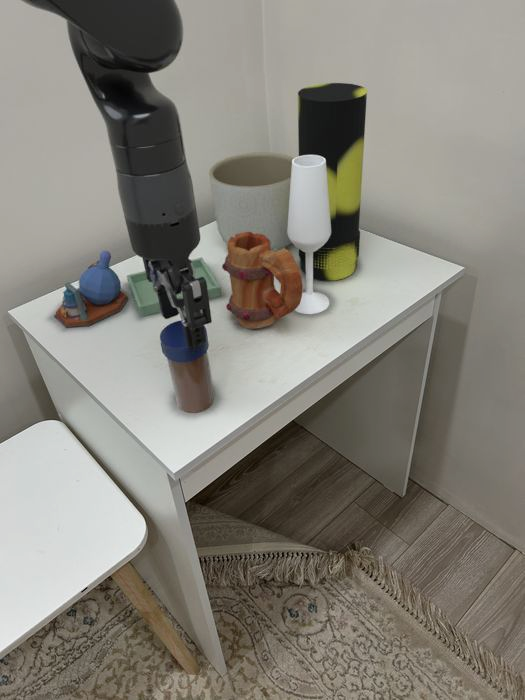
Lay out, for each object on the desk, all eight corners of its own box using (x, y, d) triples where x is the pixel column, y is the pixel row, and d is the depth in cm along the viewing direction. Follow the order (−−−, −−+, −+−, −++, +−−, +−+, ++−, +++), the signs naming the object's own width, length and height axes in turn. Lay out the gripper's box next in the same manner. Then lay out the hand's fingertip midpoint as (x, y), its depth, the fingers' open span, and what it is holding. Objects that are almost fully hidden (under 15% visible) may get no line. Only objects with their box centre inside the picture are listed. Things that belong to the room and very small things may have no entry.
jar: (182, 417, 72) (168, 354, 65) (172, 393, 76) (158, 330, 69) (219, 406, 74) (209, 342, 67) (208, 382, 78) (198, 320, 71)
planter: (269, 216, 118) (265, 145, 108) (321, 245, 107) (321, 168, 97) (202, 242, 110) (191, 168, 101) (250, 275, 99) (243, 196, 90)
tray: (140, 317, 91) (138, 307, 90) (128, 284, 99) (126, 275, 98) (221, 296, 95) (220, 286, 93) (203, 266, 103) (201, 257, 102)
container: (339, 288, 94) (346, 105, 75) (287, 271, 100) (281, 96, 81) (368, 261, 101) (381, 86, 82) (318, 247, 106) (320, 79, 87)
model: (109, 284, 100) (97, 238, 94) (136, 303, 94) (124, 256, 88) (48, 311, 94) (31, 264, 88) (73, 334, 88) (56, 286, 82)
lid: (168, 368, 66) (165, 353, 65) (157, 341, 71) (154, 327, 69) (214, 354, 68) (212, 340, 66) (201, 329, 72) (199, 315, 71)
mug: (218, 318, 90) (207, 235, 80) (255, 298, 94) (249, 216, 84) (278, 358, 81) (274, 270, 71) (317, 334, 85) (317, 248, 75)
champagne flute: (281, 300, 92) (275, 160, 77) (313, 287, 95) (313, 148, 80) (305, 319, 88) (303, 173, 73) (337, 304, 91) (342, 161, 75)
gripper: (103, 192, 60) (134, 313, 71) (151, 242, 51) (179, 374, 61) (165, 175, 63) (186, 294, 74) (222, 219, 53) (238, 349, 64)
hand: (183, 330), depth 67 cm, fingers open, 7 cm apart
